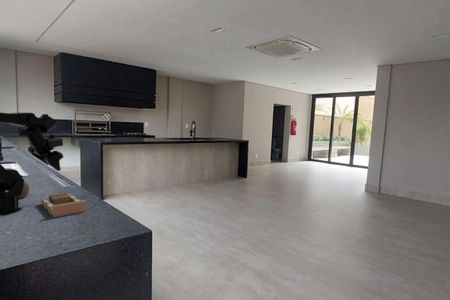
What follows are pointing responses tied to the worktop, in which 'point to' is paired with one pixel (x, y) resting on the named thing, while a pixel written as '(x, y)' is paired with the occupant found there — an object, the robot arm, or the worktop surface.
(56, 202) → the keeper
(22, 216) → the worktop surface
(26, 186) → the vase
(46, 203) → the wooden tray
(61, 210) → the end stop
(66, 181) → the worktop surface
